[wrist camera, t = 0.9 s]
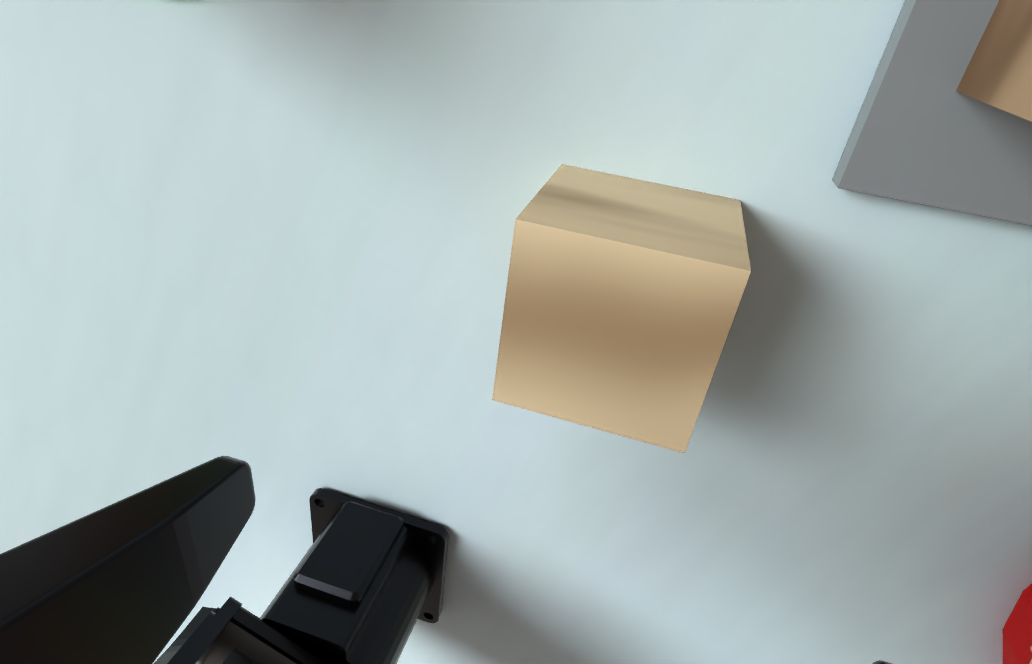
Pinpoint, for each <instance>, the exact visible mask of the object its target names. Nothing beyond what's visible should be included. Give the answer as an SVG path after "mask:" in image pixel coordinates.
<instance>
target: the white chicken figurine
mask: <svg viewBox="0 0 1032 664" xmlns="http://www.w3.org/2000/svg"><path fill="white" fill-rule="evenodd" d="M1003 664H1032V584H1031V585H1030V586H1028V587H1027V588H1026V589H1025V590H1024V591H1023V592H1022V594H1021V596H1020V598H1019V600H1018V601H1017V603H1016V605H1015V607H1014V609H1013V611H1012V613H1011V615H1010V616H1009V618H1008V620H1007V622H1006V624H1005V626H1004V628H1003Z"/></svg>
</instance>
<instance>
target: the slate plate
mask: <svg viewBox="0 0 1032 664" xmlns="http://www.w3.org/2000/svg"><path fill="white" fill-rule="evenodd" d="M998 2H999V0H905V2H904V5H903V7H902V10H901V12H900V15H899V17H898V19H897V22H896V24H895V27H894V29H893V32H892V34H891V37H890V39H889V41H888V44H887V46H886V49H885V51H884V54H883V56H882V59H881V61H880V64H879V66H878V68H877V71H876V73H875V76H874V78H873V81H872V83H871V86H870V88H869V90H868V93H867V95H866V98H865V100H864V103H863V105H862V108H861V110H860V113H859V115H858V117H857V120H856V122H855V125H854V127H853V130H852V132H851V135H850V137H849V139H848V142H847V144H846V147H845V149H844V152H843V154H842V157H841V159H840V161H839V164H838V166H837V169H836V171H835V174H834V176H833V179H832V180H833V181H834V183H835V184H836V186H837V187H838V188H841V189H846V190H851V191H856V192H861V193H867V194H872V195H877V196H882V197H887V198H893V199H898V200H903V201H908V202H913V203H918V204H924V205H929V206H934V207H939V208H944V209H950V210H955V211H960V212H965V213H970V214H976V215H981V216H986V217H991V218H996V219H1001V220H1007V221H1012V222H1017V223H1022V224H1027V225H1032V122H1031V121H1029V120H1026V119H1024V118H1021V117H1019V116H1016V115H1014V114H1011V113H1009V112H1006V111H1004V110H1001V109H999V108H996V107H994V106H991V105H989V104H986V103H984V102H981V101H979V100H976V99H974V98H971V97H969V96H967V95H964V94H962V93H959V92H957V91H956V89H957V87H958V85H959V83H960V81H961V79H962V77H963V75H964V73H965V71H966V68H967V66H968V64H969V62H970V60H971V58H972V56H973V54H974V52H975V50H976V48H977V46H978V44H979V41H980V39H981V37H982V35H983V33H984V31H985V29H986V27H987V25H988V23H989V21H990V19H991V16H992V14H993V12H994V10H995V8H996V6H997V4H998Z"/></svg>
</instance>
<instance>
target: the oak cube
mask: <svg viewBox="0 0 1032 664" xmlns="http://www.w3.org/2000/svg"><path fill="white" fill-rule="evenodd" d="M750 273H751V267H750V260H749V254H748V247H747V241H746V234H745V228H744V221H743V215H742V208H741V202H740V200H737V199H732V198H727V197H722V196H717V195H712V194H707V193H702V192H697V191H692V190H687V189H682V188H677V187H672V186H668V185H663V184H658V183H653V182H648V181H643V180H638V179H633V178H628V177H623V176H618V175H613V174H608V173H603V172H598V171H593V170H588V169H583V168H578V167H573V166H568V165H563V164H562V165H561V166H560V167H559V169H558V170H557V171H556V172H555V173H554V174H553V176H552V177H551V178H550V179H549V180H548V182H547V183H546V184H545V185H544V186H543V187H542V189H541V190H540V191H539V192H538V193H537V195H536V196H535V197H534V198H533V199H532V200H531V202H530V203H529V204H528V205H527V206H526V207H525V209H524V210H523V211H522V212H521V213H520V215H519V216H518V217H517V218H516V220H515V228H514V236H513V243H512V251H511V259H510V267H509V274H508V282H507V290H506V298H505V305H504V313H503V321H502V329H501V336H500V344H499V352H498V360H497V367H496V375H495V383H494V390H493V398H492V400H494V401H498V402H501V403H505V404H509V405H512V406H516V407H520V408H523V409H527V410H530V411H534V412H538V413H541V414H545V415H548V416H552V417H556V418H559V419H563V420H567V421H570V422H574V423H577V424H581V425H585V426H588V427H592V428H595V429H599V430H603V431H606V432H610V433H613V434H617V435H621V436H624V437H628V438H632V439H635V440H639V441H642V442H646V443H650V444H653V445H657V446H660V447H664V448H668V449H671V450H675V451H679V452H682V453H685V451H686V448H687V445H688V442H689V440H690V437H691V434H692V432H693V429H694V426H695V423H696V421H697V418H698V415H699V412H700V410H701V407H702V404H703V401H704V399H705V396H706V393H707V391H708V388H709V385H710V382H711V380H712V377H713V374H714V371H715V369H716V366H717V363H718V360H719V358H720V355H721V352H722V350H723V347H724V344H725V341H726V339H727V336H728V333H729V330H730V328H731V325H732V322H733V319H734V317H735V314H736V311H737V308H738V306H739V303H740V300H741V298H742V295H743V292H744V289H745V287H746V284H747V281H748V278H749V276H750Z"/></svg>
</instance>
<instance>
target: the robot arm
mask: <svg viewBox="0 0 1032 664" xmlns="http://www.w3.org/2000/svg"><path fill="white" fill-rule="evenodd" d="M254 506H255V492H254V486H253V479H252V473H251V468H250V466H249V464H248V463H247V462H245V461H242V460H239V459H235V458H232V457H229V456H221V457H217V458H215V459H213V460H210V461H208V462H206V463H204V464H201V465H199V466H197V467H195V468H192V469H190V470H188V471H186V472H183V473H181V474H179V475H177V476H174V477H172V478H170V479H168V480H165V481H163V482H161V483H159V484H156V485H154V486H152V487H150V488H147V489H145V490H143V491H141V492H138V493H136V494H134V495H132V496H130V497H127V498H125V499H123V500H121V501H118V502H116V503H114V504H112V505H109V506H107V507H105V508H103V509H100V510H98V511H96V512H94V513H91V514H89V515H87V516H85V517H82V518H80V519H78V520H76V521H73V522H71V523H69V524H67V525H64V526H62V527H60V528H58V529H55V530H53V531H51V532H49V533H47V534H44V535H42V536H40V537H38V538H35V539H33V540H31V541H29V542H26V543H24V544H22V545H20V546H17V547H15V548H13V549H11V550H8V551H6V552H4V553H2V554H0V664H152V663H153V662H154V661H155V659H156V658H157V657H158V655H159V654H160V653H161V651H162V650H163V649H164V647H165V646H166V645H167V643H168V642H169V641H170V639H171V638H172V637H173V635H174V634H175V633H176V631H177V630H178V629H179V627H180V626H181V625H182V623H183V622H184V621H185V619H186V618H187V616H188V615H189V614H190V612H191V611H192V609H193V608H194V607H195V605H196V604H197V602H198V601H199V599H200V598H201V596H202V594H203V593H204V591H205V590H206V588H207V586H208V585H209V583H210V582H211V580H212V578H213V577H214V575H215V573H216V572H217V570H218V568H219V567H220V565H221V564H222V562H223V560H224V559H225V557H226V555H227V554H228V552H229V550H230V549H231V547H232V546H233V544H234V542H235V541H236V539H237V537H238V536H239V534H240V532H241V531H242V529H243V528H244V526H245V524H246V523H247V521H248V519H249V518H250V516H251V514H252V512H253V509H254ZM310 510H311V522H312V534H313V545H312V546H311V548H310V549H309V550H308V552H307V553H306V555H305V556H304V557H303V559H302V560H301V561H300V563H299V564H298V566H297V567H296V568H295V570H294V571H293V573H292V574H291V575H290V577H289V578H288V580H287V581H286V582H285V584H284V585H283V587H282V588H281V589H280V591H279V592H278V594H277V595H276V596H275V598H274V599H273V601H272V602H271V603H270V605H269V606H268V608H267V609H266V610H265V612H264V613H263V615H262V616H261V617H260V618H258V617H257V616H255V615H253V614H252V613H250V612H249V611H247V610H246V609H244V608H243V607H241V606H242V603H240V602H238V601H237V600H235V599H234V598H232V597H230V598H229V599H228V600H227V601H226V602H225V604H224V605H223V606H222V607H221V608H217V609H216V608H207V607H202V608H201V610H200V611H199V612H198V613H197V614H196V616H195V617H194V618H193V619H192V621H191V622H190V623H189V624H188V625H187V627H186V628H185V629H184V630H183V632H182V633H181V634H180V635H179V636H178V638H177V639H176V640H175V641H174V642H173V643H172V644H171V646H170V647H169V648H168V649H167V650H166V651H165V652H164V653H163V654H162V655H161V656H160V658H159V659H158V660H157V661H156V662H155V663H154V664H397V661H398V659H399V657H400V655H401V653H402V651H403V648H404V646H405V644H406V642H407V640H408V638H409V635H410V633H411V631H412V629H413V627H414V625H415V623H416V620H417V618H418V619H420V620H423V621H426V622H430V623H435V622H437V621H438V619H439V616H440V614H441V611H442V600H443V589H444V579H445V568H446V558H447V547H448V533H447V531H446V530H445V529H444V528H443V527H441V526H439V525H436V524H432V523H429V522H426V521H423V520H420V519H417V518H414V517H410V516H407V515H404V514H401V513H398V512H395V511H392V510H389V509H385V508H382V507H379V506H376V505H373V504H370V503H367V502H363V501H360V500H357V499H354V498H351V497H348V496H345V495H341V494H338V493H335V492H332V491H329V490H326V489H322V488H319V489H316V490H315V491H314V493H313V494H312V495H311V497H310ZM873 664H891V663H888V662H885V661H880V660H879V661H876V662H874V663H873Z"/></svg>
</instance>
